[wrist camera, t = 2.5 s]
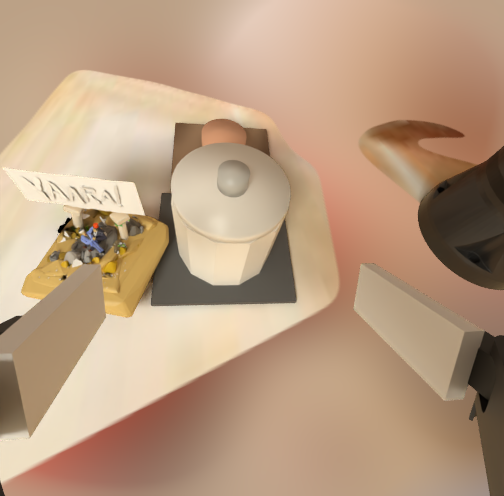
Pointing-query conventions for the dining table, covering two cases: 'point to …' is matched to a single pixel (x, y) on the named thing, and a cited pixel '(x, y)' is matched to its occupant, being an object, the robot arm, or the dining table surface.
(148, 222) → the cake
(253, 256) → the pot with lid
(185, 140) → the board
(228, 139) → the egg
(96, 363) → the dining table surface
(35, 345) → the robot arm
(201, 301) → the mat
